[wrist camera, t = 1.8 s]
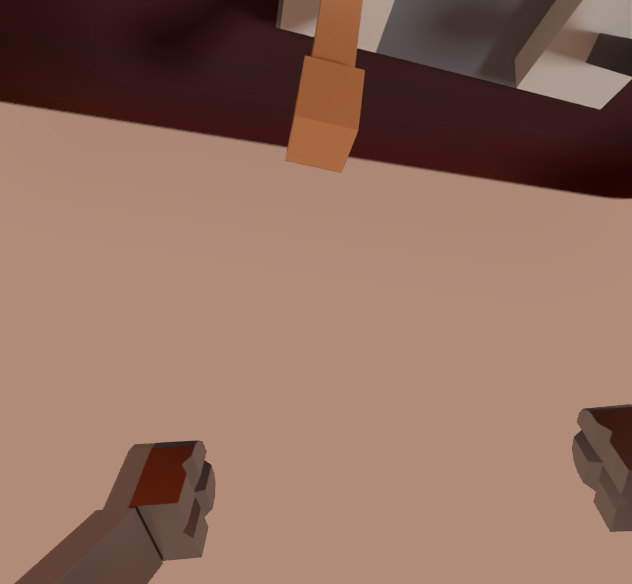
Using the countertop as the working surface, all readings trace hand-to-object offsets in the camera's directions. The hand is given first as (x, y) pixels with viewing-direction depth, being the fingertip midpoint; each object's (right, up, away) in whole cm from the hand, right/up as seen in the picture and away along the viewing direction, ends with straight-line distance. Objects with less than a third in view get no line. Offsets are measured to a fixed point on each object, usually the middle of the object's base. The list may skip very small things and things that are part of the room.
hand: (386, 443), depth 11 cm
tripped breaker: (0, +23, +20) cm, 30 cm away
